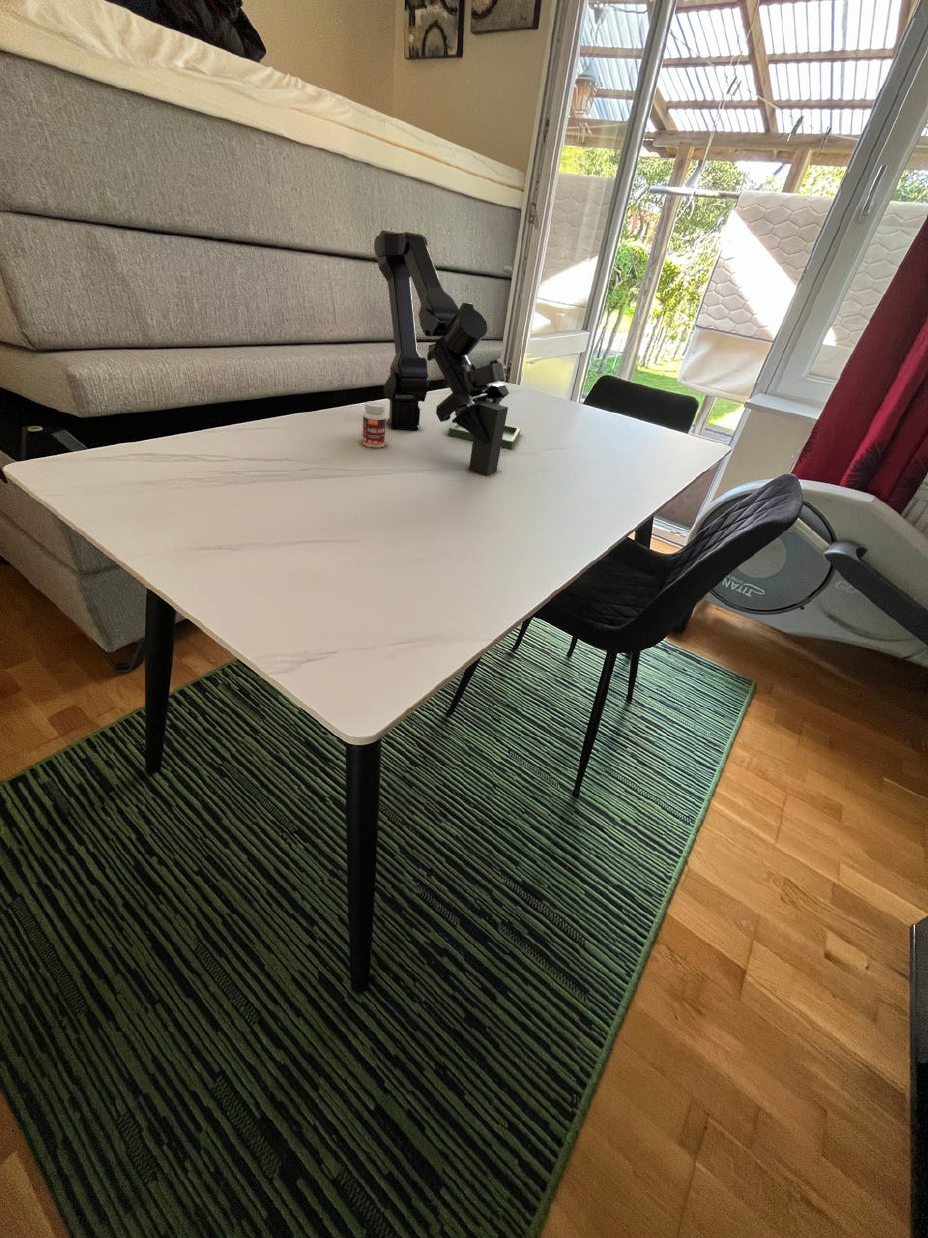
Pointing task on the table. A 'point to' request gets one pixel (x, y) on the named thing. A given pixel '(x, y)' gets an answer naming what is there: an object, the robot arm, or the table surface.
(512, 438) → the shallow green tray
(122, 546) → the table surface
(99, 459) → the table surface
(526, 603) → the table surface
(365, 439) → the pill bottle
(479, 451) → the tall black pillar
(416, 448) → the table surface
